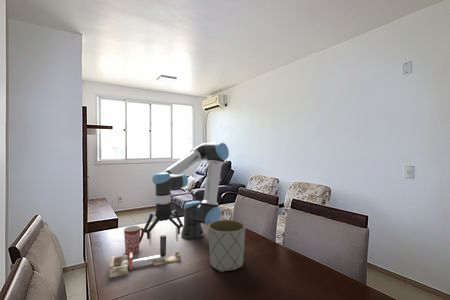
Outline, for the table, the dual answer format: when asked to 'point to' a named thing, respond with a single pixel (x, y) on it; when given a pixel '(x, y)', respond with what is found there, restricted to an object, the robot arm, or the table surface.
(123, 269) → the beige block
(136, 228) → the mug
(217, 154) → the robot arm
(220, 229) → the planter
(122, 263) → the ball
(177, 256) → the strip
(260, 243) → the table surface
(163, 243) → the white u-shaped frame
